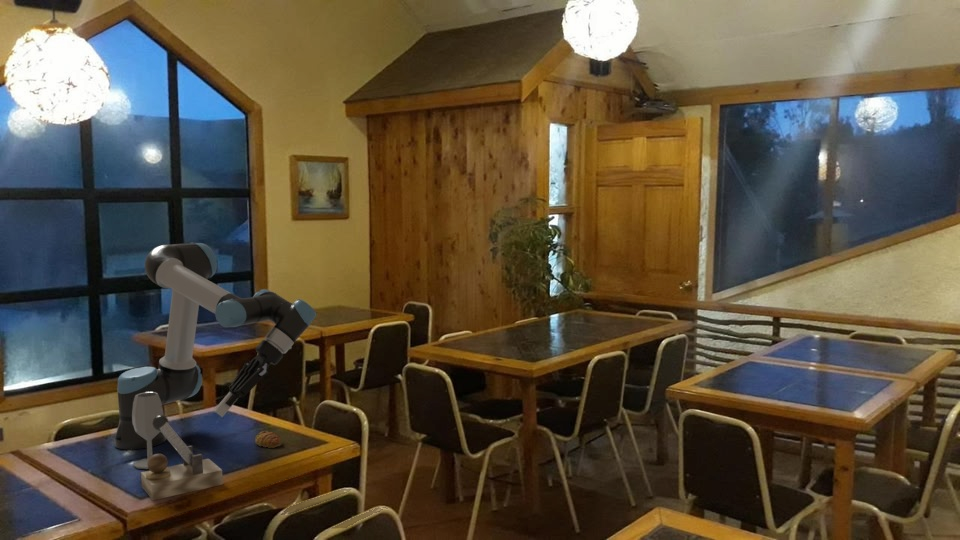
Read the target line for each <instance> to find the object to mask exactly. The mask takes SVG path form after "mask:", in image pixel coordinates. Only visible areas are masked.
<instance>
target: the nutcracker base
mask: <svg viewBox="0 0 960 540" xmlns="http://www.w3.org/2000/svg"><path fill="white" fill-rule="evenodd" d="M186 446H187V445H186ZM187 447H188V448H189V449H190V450H191V452H192V453H193V454H194V451H193V449H194V448H193V447H194V446H193V445H188V446H187ZM168 462H169V461H168V459H167V456H166V455H164V454H162V453H154V454H152V456H151V457H150V458H149V460H148V463H147V466H148V469H147V470H146V471H141V472H140V479H141V488H142V489H143V490H144V491H145V493H146V494H147V495H148V496H149V498H150V499H151V500H152V501H156V500H161V499H165V498H170V497H173V496H178V495H183V494H188V493H190V492H195V491H200V490H205V489H208V488H209V489H210V488H213V487H217V486H222V485H223V484H224V479H223V469H222V468H221V467H220V466H219V465H217V464H216V463H215V462H214V461H212V460H211V459H210V458H205V459H203V454H202V453H197V454H194V455H193V456H192V466H190V465H189V464H188V463H187V462H186V461H185V460H184V459H183V458H182V463H179V464H176V465H175V464H174V465H170V466H168Z"/></svg>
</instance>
